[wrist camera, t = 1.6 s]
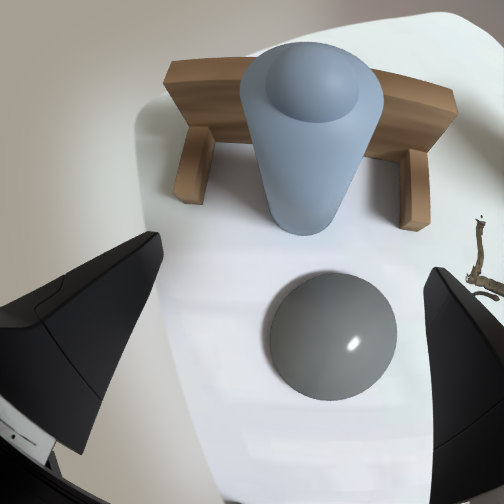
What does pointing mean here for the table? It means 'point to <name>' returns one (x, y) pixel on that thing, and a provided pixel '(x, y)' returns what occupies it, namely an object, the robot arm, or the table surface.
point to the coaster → (333, 337)
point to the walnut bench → (236, 131)
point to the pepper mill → (309, 128)
